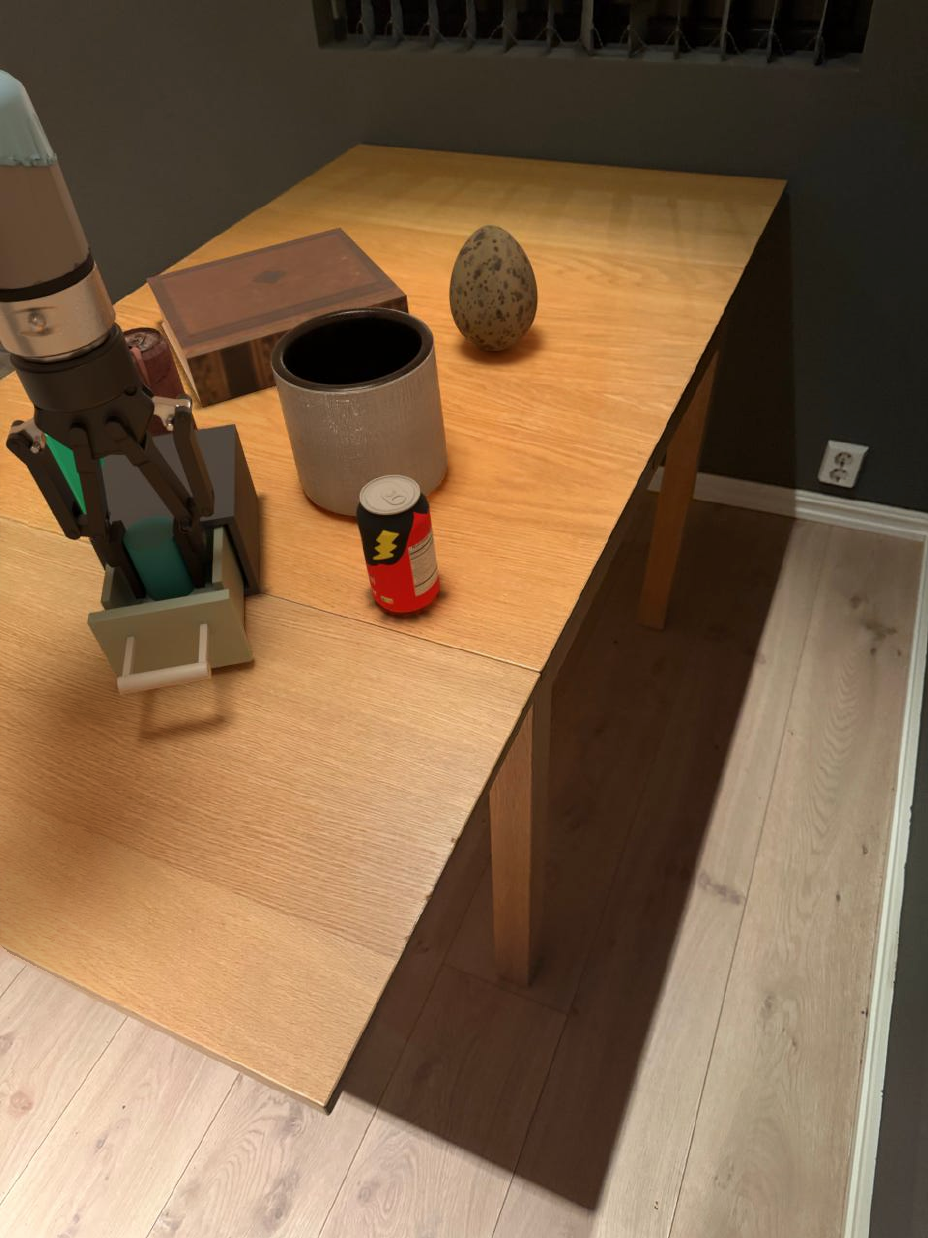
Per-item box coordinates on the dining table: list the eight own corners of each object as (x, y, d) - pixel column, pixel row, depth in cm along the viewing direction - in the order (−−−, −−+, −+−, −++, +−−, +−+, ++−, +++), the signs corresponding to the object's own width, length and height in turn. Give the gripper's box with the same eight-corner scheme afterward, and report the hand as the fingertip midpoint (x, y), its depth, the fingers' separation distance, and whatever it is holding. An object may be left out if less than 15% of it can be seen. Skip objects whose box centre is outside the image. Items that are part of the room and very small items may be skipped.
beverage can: (410, 562, 86) (394, 461, 77) (454, 593, 82) (442, 491, 74) (359, 596, 83) (337, 495, 74) (403, 629, 79) (384, 528, 71)
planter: (469, 444, 98) (458, 313, 87) (416, 535, 88) (396, 401, 77) (340, 424, 103) (314, 297, 92) (275, 509, 93) (237, 378, 82)
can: (158, 473, 99) (113, 361, 89) (143, 446, 103) (99, 335, 93) (210, 455, 100) (171, 343, 90) (193, 428, 104) (155, 318, 94)
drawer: (253, 712, 73) (228, 649, 67) (114, 737, 72) (77, 676, 67) (251, 559, 86) (230, 496, 81) (134, 579, 85) (104, 517, 80)
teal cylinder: (145, 607, 75) (120, 555, 71) (149, 572, 78) (125, 520, 74) (197, 598, 75) (175, 545, 71) (198, 564, 78) (178, 511, 74)
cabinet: (260, 593, 84) (234, 515, 77) (127, 616, 83) (88, 539, 76) (258, 499, 94) (235, 423, 87) (139, 519, 93) (106, 444, 86)
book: (412, 342, 115) (406, 294, 110) (202, 406, 108) (186, 358, 103) (347, 271, 130) (340, 227, 126) (161, 323, 123) (145, 278, 119)
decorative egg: (470, 320, 118) (462, 205, 107) (548, 329, 114) (548, 211, 104) (441, 362, 111) (429, 243, 100) (523, 373, 108) (520, 251, 97)
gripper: (-83, 385, 57) (64, 631, 73) (190, 343, 58) (272, 594, 75) (-56, 329, 62) (75, 571, 79) (194, 291, 63) (270, 537, 80)
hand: (171, 582), depth 77 cm, fingers closed on teal cylinder, 4 cm apart
